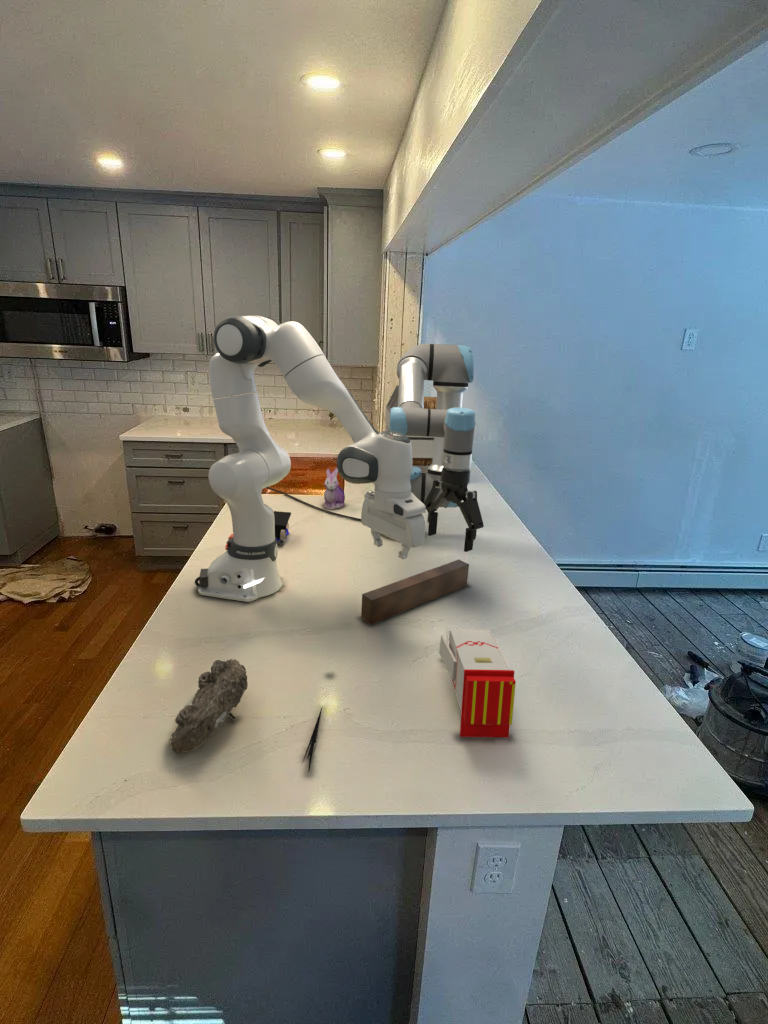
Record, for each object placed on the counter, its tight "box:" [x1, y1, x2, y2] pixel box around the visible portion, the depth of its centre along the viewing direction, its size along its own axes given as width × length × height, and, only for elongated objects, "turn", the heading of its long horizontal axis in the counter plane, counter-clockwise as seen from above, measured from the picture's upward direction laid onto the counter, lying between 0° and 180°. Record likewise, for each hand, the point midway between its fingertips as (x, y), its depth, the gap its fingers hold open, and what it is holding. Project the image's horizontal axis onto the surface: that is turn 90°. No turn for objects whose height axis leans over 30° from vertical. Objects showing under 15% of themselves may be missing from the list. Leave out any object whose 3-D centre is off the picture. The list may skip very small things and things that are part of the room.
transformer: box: [384, 384, 437, 467], centre depth 268 cm, size 34×33×41 cm
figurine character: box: [273, 510, 292, 545], centre depth 190 cm, size 7×8×15 cm
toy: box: [438, 628, 517, 738], centre depth 117 cm, size 12×13×30 cm
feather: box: [301, 673, 332, 771], centre depth 108 cm, size 2×28×2 cm
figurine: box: [323, 467, 346, 510], centre depth 222 cm, size 9×10×15 cm
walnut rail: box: [360, 559, 470, 626], centre depth 153 cm, size 36×4×7 cm, turn 131°
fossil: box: [170, 658, 249, 753], centre depth 106 cm, size 22×10×15 cm
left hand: (390, 551), depth 141 cm, fingers open, 8 cm apart
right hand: (449, 542), depth 156 cm, fingers open, 13 cm apart
